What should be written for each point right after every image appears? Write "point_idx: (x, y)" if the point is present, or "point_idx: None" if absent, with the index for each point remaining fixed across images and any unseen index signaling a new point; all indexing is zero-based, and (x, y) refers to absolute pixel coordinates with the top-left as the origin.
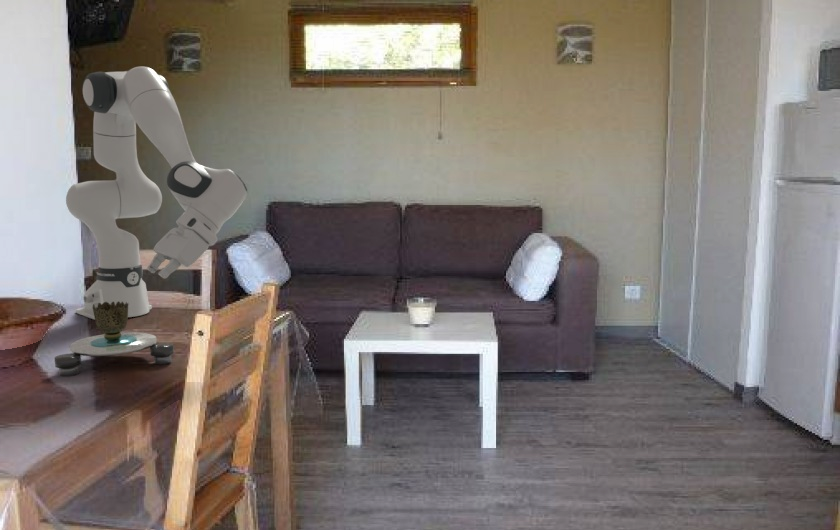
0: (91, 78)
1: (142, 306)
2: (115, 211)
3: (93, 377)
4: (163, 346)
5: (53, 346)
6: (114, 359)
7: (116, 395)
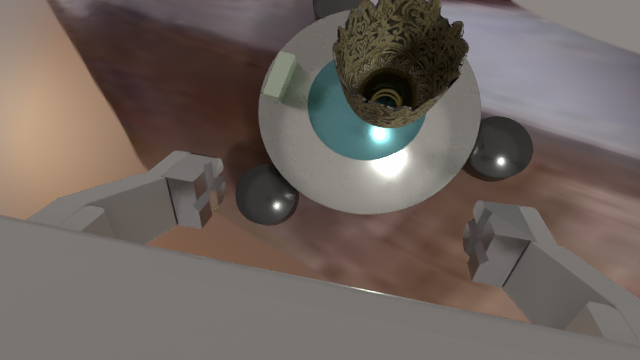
0: None
1: None
2: None
3: None
4: (255, 193)
5: (636, 68)
6: None
7: (141, 46)
